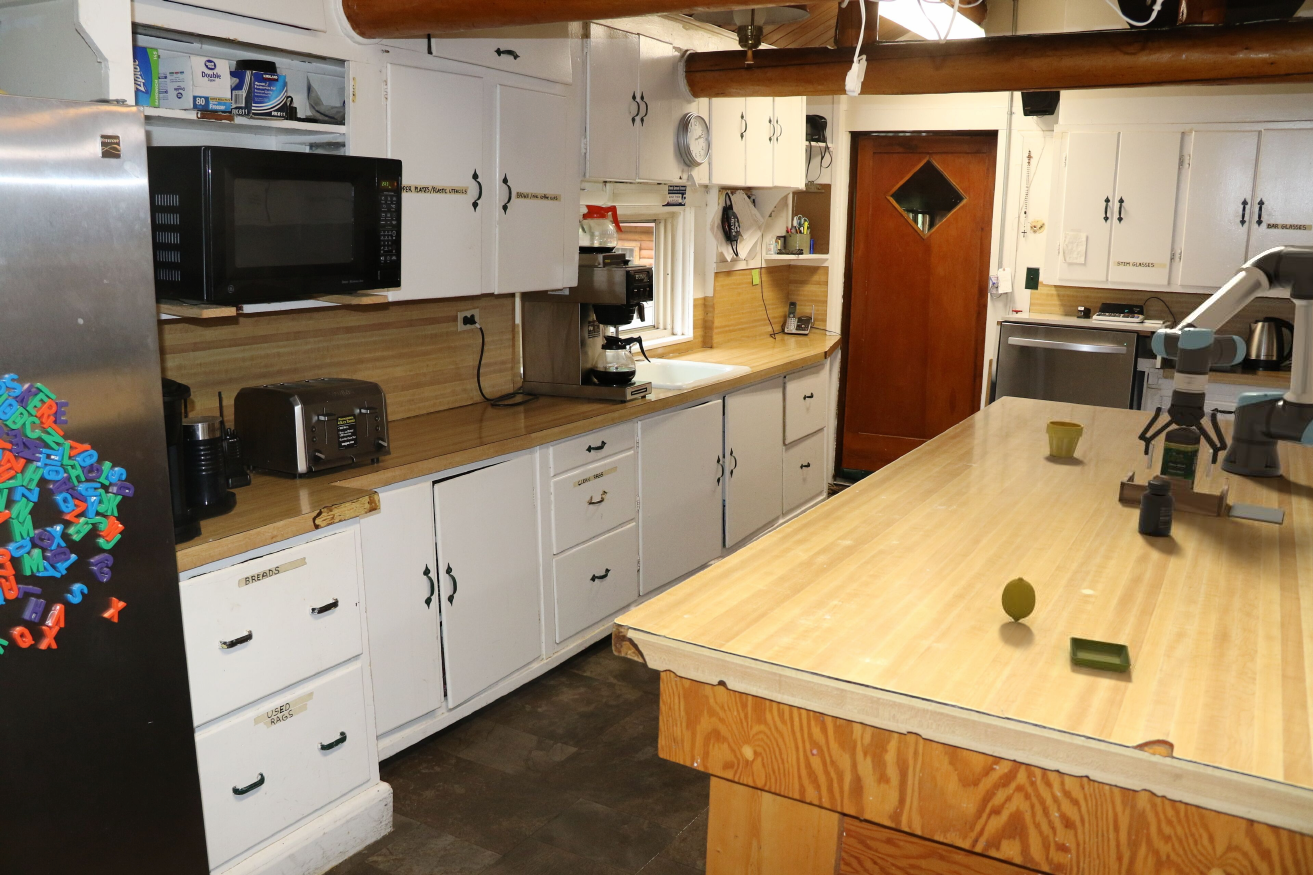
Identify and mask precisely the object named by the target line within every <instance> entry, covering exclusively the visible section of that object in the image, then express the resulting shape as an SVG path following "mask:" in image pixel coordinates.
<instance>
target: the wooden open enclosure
mask: <svg viewBox="0 0 1313 875" xmlns="http://www.w3.org/2000/svg"><path fill="white" fill-rule="evenodd" d="M1135 475H1136V470H1133V469H1130V470H1129V472H1128V473H1127V474H1126V475H1125V476H1124V477H1123V479H1122V480H1121V481H1120V483H1119V484H1120V485H1119V494H1118V502H1123V503H1130V504H1136V505H1141V497H1142V494H1143V493H1144V492H1146V491H1148V489H1147V486H1148V485H1145V484H1146V483H1136V482H1135ZM1229 489H1230V483H1228V482H1225V483H1224V484H1223V486H1222V489H1221V491H1220V493H1219V494H1212V493H1206V492H1200V491H1194V492H1193V491H1186V490H1179V489H1173V488H1171V491H1170V494H1172V495H1173V496H1174V499H1175V503H1174V510H1175V511H1181V512H1187V513H1195V514H1200V515H1207V516H1212V517H1218V518H1221V517H1222V515H1223V513H1224V510H1225V507H1226V505H1227V502H1228V497H1229Z"/></svg>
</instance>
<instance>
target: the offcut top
mask: <svg viewBox="0 0 1313 875" xmlns="http://www.w3.org/2000/svg"><path fill="white" fill-rule="evenodd" d="M1151 480H1165V481H1169V482H1171V483H1172V485H1171V488H1173V489H1179V490H1186V491H1190V489H1191V482H1192V480H1187V479H1181V478H1175V477H1169V476H1163V475H1160V474H1156V475H1154V476H1152V479H1151Z"/></svg>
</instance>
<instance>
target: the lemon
mask: <svg viewBox="0 0 1313 875" xmlns="http://www.w3.org/2000/svg"><path fill="white" fill-rule="evenodd" d="M1036 600H1037V599H1036V591H1035V588H1034V586H1033V585H1032V584H1031V583H1030V582H1029V581H1028V580H1025V579H1024V578H1023V576H1022V577H1021V576H1019V577H1018V578H1014V579H1012V580H1010V581H1009V582H1007V583H1006V585H1005V586H1004V588H1003V590H1002V594H1001V606H1002V610H1003V611H1004V612H1005V614H1006V615H1007V616H1009V617H1010V618H1012V619H1013V621H1014V622H1019V621H1020V620H1024V619H1026V618H1028V617H1029V616H1030V615H1031V614H1032V613H1033V612H1034V610H1035V606H1036Z"/></svg>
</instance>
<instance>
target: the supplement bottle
mask: <svg viewBox="0 0 1313 875" xmlns="http://www.w3.org/2000/svg"><path fill="white" fill-rule="evenodd" d="M1147 483H1148V486H1147V489H1148V491H1146V492H1144V493H1143V494H1142V497H1141V504H1139V505H1140V506H1139V517H1138V526H1137V529H1138V532H1139V533H1140V534H1143V535H1146V536H1151V537H1160V538H1161V537H1168V536H1170V535H1171V534H1172V529H1173V528H1172V526H1173V519H1174V503H1175V499H1174V496H1173V495H1172V494H1170V491H1171V485H1172V483H1171V482H1169V481H1165V480H1152V479H1148V480H1147Z"/></svg>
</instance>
